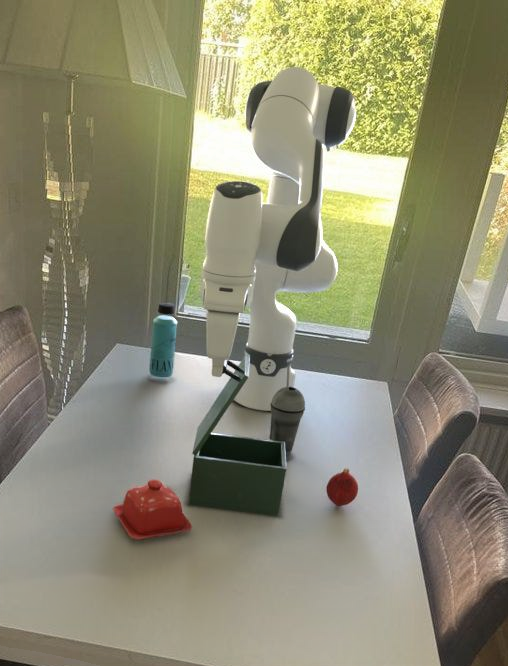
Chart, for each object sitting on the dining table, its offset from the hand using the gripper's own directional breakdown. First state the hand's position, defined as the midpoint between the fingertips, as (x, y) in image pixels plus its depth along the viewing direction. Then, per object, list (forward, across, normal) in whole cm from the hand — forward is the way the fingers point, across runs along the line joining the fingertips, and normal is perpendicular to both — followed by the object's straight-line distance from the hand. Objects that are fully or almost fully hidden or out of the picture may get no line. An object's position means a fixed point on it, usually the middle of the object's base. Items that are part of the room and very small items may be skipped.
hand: (218, 368), depth 121 cm
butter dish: (+25, +14, -8) cm, 30 cm away
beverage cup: (+25, -20, +15) cm, 35 cm away
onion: (+25, -1, +26) cm, 36 cm away
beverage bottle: (+25, -58, -16) cm, 65 cm away
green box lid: (+7, 0, +2) cm, 7 cm away
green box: (+25, 0, +6) cm, 25 cm away
